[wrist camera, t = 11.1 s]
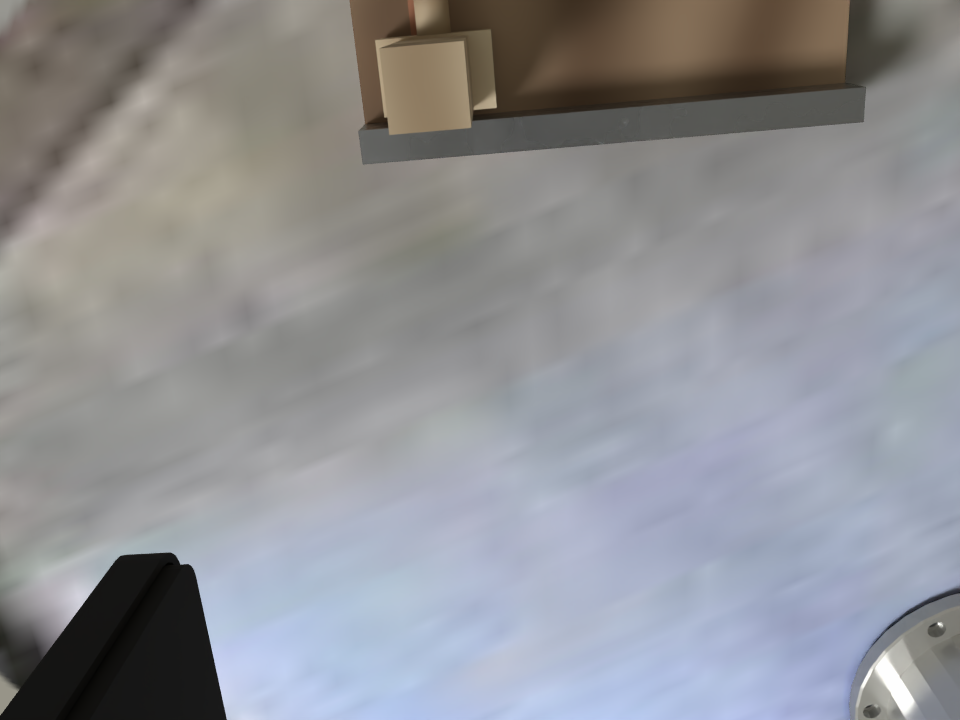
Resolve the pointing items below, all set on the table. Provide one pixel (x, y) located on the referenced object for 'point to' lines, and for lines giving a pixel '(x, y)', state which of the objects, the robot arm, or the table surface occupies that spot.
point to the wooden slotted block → (624, 72)
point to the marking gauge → (435, 73)
